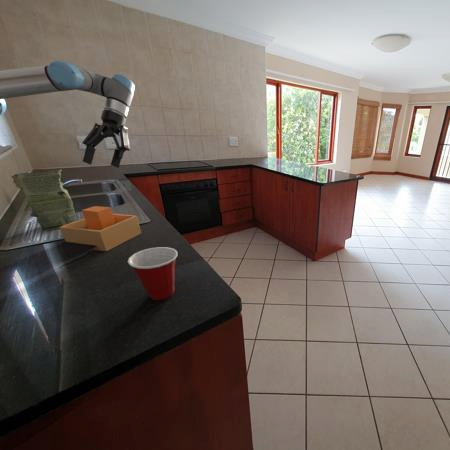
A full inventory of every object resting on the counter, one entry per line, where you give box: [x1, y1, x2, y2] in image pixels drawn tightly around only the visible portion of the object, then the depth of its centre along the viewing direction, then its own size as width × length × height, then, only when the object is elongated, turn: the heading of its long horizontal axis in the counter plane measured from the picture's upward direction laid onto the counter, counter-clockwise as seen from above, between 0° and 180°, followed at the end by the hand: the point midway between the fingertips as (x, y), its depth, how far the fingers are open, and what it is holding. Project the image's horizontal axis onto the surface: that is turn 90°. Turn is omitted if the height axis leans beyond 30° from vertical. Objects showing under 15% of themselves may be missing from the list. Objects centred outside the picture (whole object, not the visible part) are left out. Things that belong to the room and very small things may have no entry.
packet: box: [81, 205, 115, 231], centre depth 90 cm, size 7×5×12 cm
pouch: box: [11, 168, 77, 231], centre depth 97 cm, size 11×12×25 cm
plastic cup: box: [127, 246, 179, 301], centre depth 62 cm, size 11×11×12 cm
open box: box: [59, 213, 142, 252], centre depth 92 cm, size 18×16×8 cm
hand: (100, 164), depth 92 cm, fingers open, 13 cm apart
